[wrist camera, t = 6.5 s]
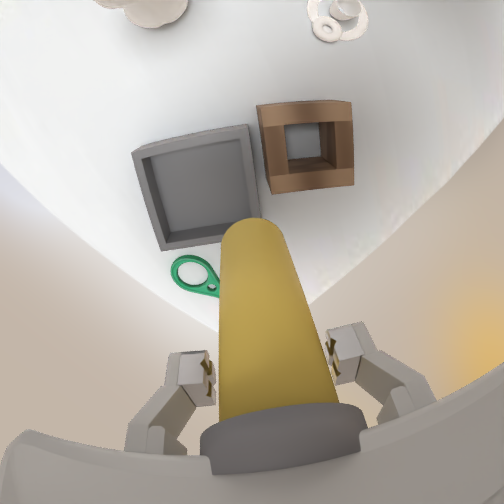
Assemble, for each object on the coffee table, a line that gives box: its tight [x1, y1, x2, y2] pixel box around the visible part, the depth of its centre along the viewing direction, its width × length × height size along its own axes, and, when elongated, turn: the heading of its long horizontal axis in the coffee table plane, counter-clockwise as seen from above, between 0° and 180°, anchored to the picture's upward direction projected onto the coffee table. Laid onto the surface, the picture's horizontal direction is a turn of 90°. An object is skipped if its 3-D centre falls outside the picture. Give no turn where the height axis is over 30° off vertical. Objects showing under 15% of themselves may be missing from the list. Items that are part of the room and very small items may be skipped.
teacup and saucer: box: [307, 0, 368, 42], centre depth 21 cm, size 9×8×4 cm
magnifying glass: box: [171, 255, 220, 298], centre depth 42 cm, size 15×6×2 cm, turn 49°
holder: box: [256, 100, 354, 195], centre depth 29 cm, size 9×9×6 cm
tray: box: [131, 124, 261, 251], centre depth 32 cm, size 13×13×4 cm
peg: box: [200, 218, 368, 475], centre depth 12 cm, size 5×5×14 cm
